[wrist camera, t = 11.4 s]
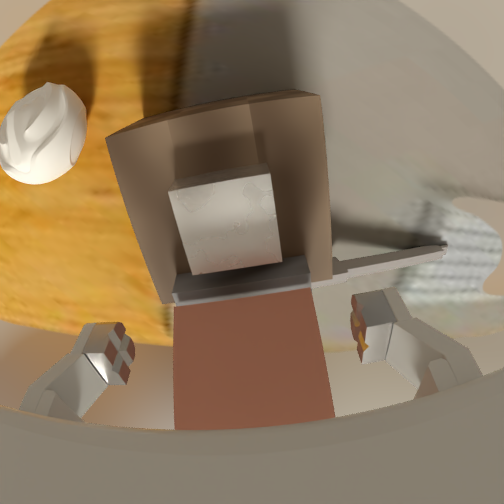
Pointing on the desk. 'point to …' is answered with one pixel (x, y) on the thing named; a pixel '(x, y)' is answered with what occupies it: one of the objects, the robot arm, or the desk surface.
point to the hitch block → (222, 158)
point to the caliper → (381, 263)
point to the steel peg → (227, 219)
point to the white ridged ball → (43, 134)
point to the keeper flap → (249, 363)
